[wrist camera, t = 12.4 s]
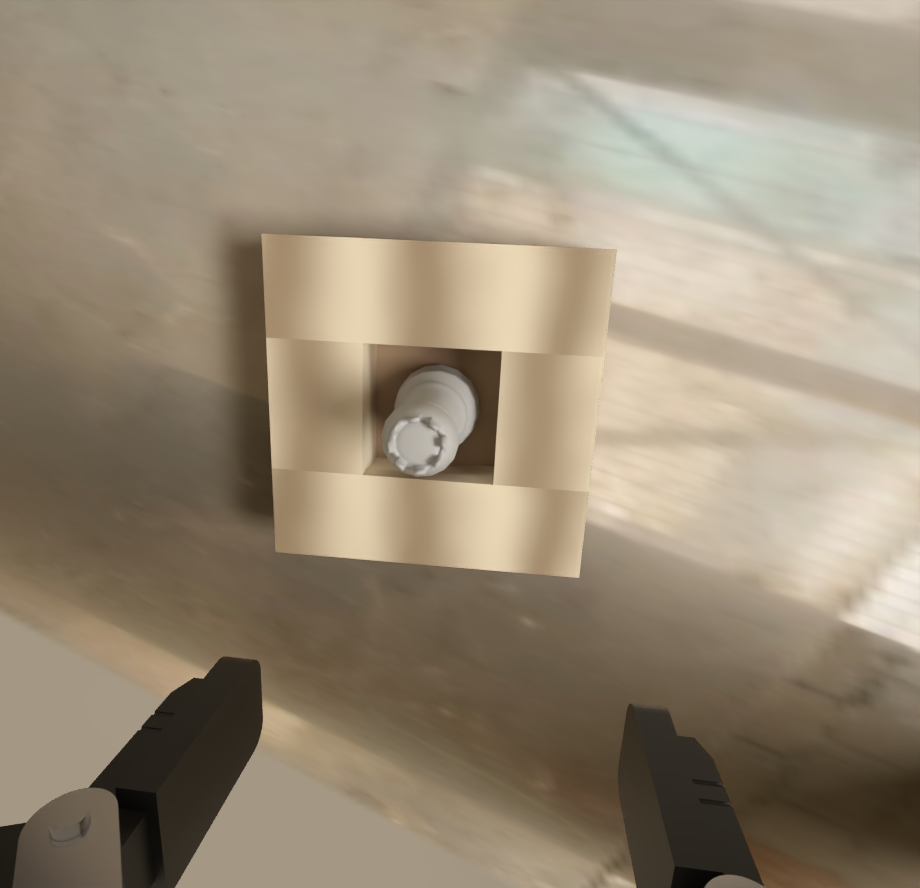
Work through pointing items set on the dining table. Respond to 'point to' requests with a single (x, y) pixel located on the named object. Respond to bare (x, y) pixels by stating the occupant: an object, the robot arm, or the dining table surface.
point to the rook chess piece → (430, 420)
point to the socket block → (426, 344)
